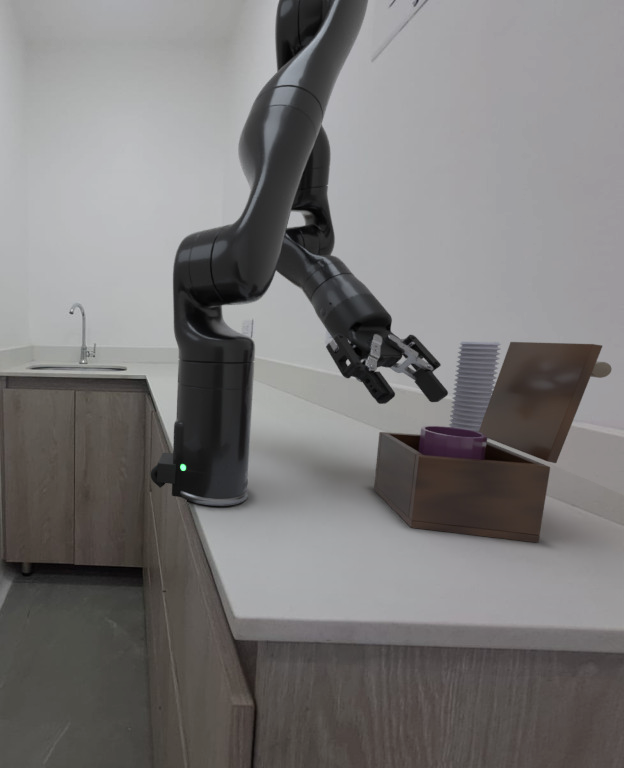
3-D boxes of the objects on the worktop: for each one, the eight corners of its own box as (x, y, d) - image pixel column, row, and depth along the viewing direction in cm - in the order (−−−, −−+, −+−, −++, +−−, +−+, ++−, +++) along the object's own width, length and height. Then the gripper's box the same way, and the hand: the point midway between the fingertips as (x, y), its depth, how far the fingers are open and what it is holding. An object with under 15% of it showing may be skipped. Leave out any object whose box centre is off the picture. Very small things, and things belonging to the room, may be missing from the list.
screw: (519, 501, 51) (542, 343, 48) (438, 492, 53) (457, 341, 51) (481, 478, 59) (500, 342, 56) (413, 471, 61) (428, 340, 59)
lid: (592, 343, 38) (651, 353, 37) (510, 341, 48) (554, 348, 47) (546, 461, 40) (601, 473, 39) (477, 434, 50) (518, 443, 49)
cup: (426, 513, 45) (436, 435, 44) (404, 493, 51) (412, 424, 50) (488, 520, 44) (500, 439, 43) (458, 499, 49) (467, 427, 48)
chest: (410, 527, 43) (419, 456, 42) (373, 489, 54) (379, 431, 53) (538, 543, 41) (550, 466, 40) (472, 499, 51) (480, 438, 50)
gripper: (324, 289, 55) (392, 382, 46) (404, 294, 59) (483, 380, 49) (294, 328, 61) (349, 418, 52) (369, 330, 65) (434, 414, 55)
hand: (414, 399), depth 50 cm, fingers open, 8 cm apart
